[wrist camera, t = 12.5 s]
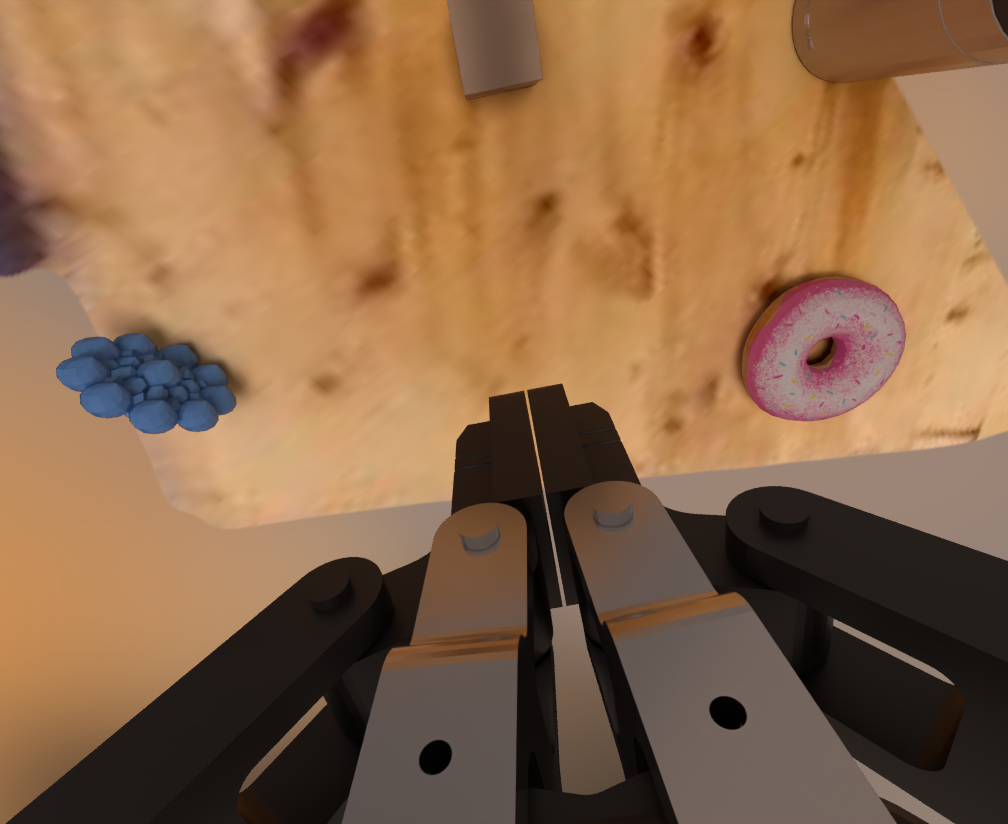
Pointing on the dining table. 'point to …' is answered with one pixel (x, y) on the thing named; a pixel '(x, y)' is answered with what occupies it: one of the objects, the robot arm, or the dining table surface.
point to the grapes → (146, 383)
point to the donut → (845, 371)
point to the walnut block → (495, 45)
